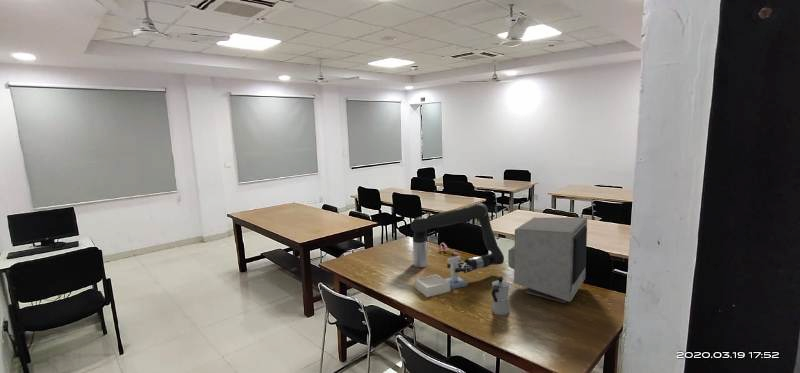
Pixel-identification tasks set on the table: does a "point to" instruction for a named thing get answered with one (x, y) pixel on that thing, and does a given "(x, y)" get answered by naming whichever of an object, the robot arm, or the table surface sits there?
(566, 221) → the crt monitor
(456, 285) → the snap cover
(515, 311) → the table surface
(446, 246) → the pink and white arrow
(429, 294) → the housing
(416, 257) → the robot arm
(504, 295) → the coffee maker
